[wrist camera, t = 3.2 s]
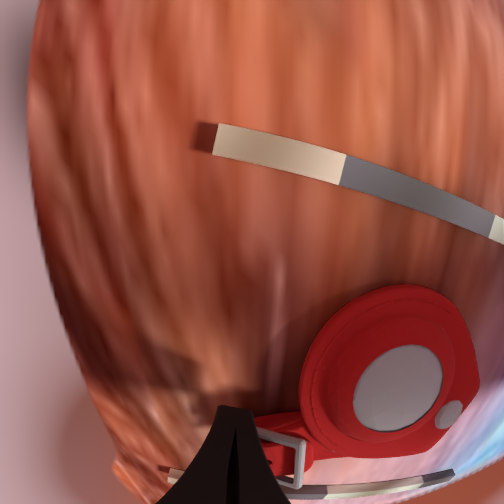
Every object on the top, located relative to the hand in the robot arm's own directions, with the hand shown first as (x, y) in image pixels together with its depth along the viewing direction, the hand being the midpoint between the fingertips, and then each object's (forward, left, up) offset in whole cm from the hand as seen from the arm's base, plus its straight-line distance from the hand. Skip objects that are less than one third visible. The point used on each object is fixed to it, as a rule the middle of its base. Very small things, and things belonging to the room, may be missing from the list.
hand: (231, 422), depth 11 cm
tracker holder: (-5, -1, -3) cm, 6 cm away
